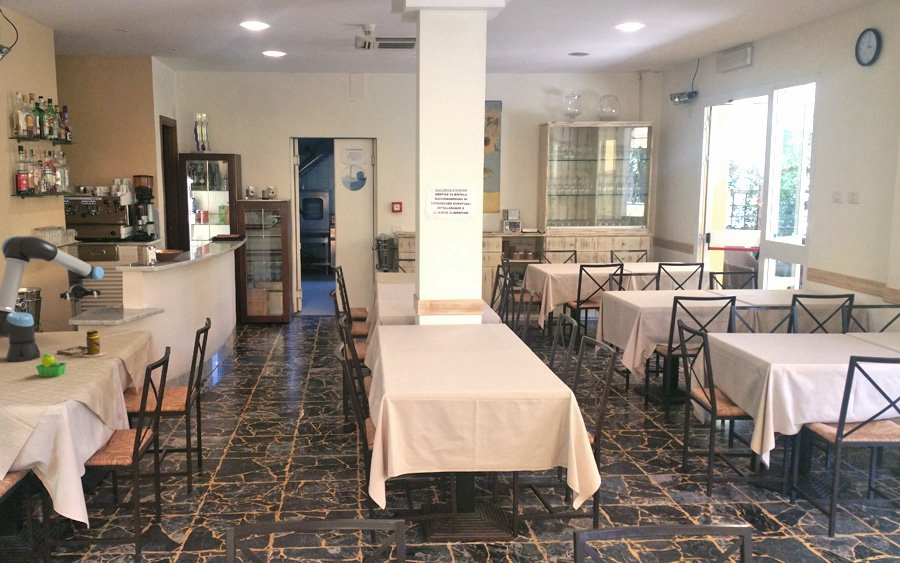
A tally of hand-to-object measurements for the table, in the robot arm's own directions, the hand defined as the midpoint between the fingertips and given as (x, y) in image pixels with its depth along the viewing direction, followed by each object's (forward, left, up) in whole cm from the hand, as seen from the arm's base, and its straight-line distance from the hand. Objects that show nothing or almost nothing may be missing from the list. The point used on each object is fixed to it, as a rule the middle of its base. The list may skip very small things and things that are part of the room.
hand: (82, 296), depth 409 cm
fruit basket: (-47, -40, -28) cm, 68 cm away
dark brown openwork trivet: (-11, -7, -28) cm, 31 cm away
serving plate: (-11, -22, -28) cm, 37 cm away
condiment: (-12, -22, -27) cm, 37 cm away
